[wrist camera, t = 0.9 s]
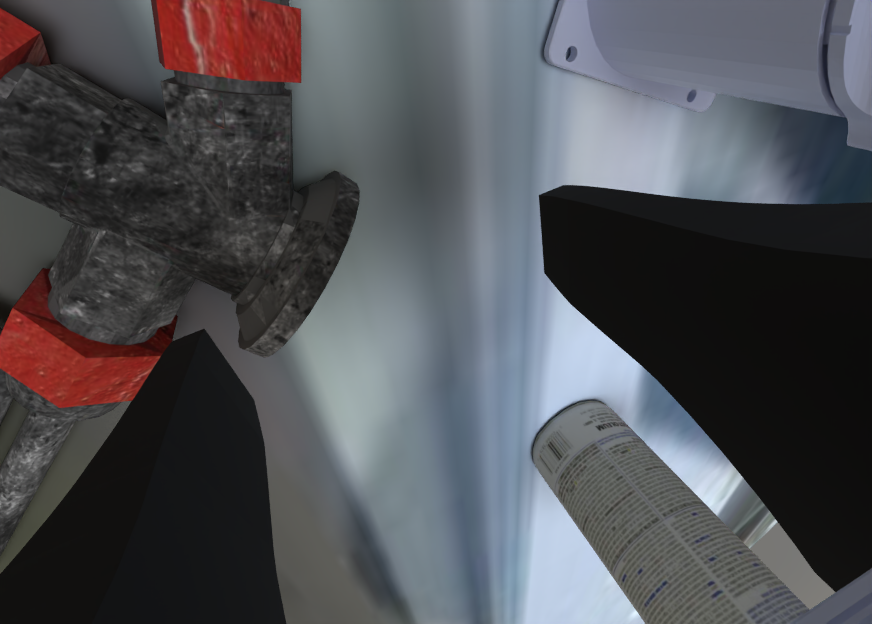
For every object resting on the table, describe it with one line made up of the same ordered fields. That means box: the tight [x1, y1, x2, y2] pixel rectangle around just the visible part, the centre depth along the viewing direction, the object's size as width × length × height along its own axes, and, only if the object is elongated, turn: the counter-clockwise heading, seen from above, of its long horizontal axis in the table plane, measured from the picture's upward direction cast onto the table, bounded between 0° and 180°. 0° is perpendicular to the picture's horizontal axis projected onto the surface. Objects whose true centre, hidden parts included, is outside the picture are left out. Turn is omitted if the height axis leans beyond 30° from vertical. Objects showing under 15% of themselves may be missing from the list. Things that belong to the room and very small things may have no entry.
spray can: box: [533, 401, 809, 624], centre depth 25 cm, size 7×7×20 cm
